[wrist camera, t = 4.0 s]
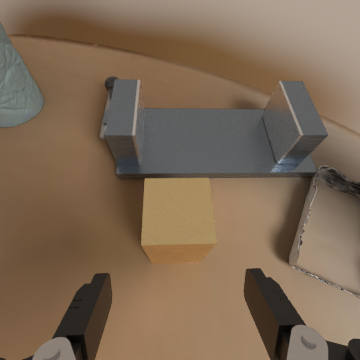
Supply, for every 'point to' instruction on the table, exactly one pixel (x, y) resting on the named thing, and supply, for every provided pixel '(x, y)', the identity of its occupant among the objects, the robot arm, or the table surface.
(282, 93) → the sliding jaw
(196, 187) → the brass block
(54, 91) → the table surface
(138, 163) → the vise base
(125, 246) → the table surface
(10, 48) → the blue embossed cup
